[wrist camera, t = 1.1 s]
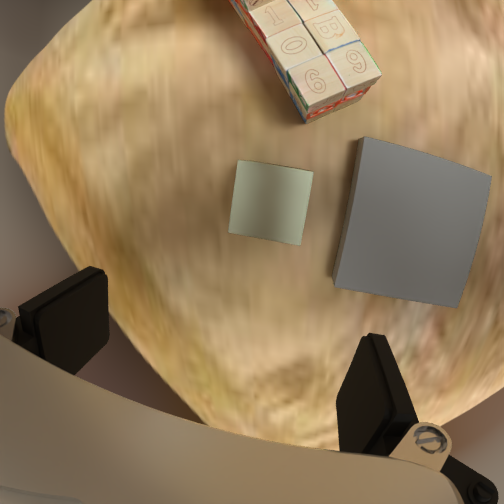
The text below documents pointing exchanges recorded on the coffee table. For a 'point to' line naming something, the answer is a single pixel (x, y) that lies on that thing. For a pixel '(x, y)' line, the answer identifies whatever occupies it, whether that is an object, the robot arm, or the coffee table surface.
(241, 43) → the coffee table surface
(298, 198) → the sage cube
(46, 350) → the robot arm
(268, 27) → the stack of blocks
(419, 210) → the plinth
